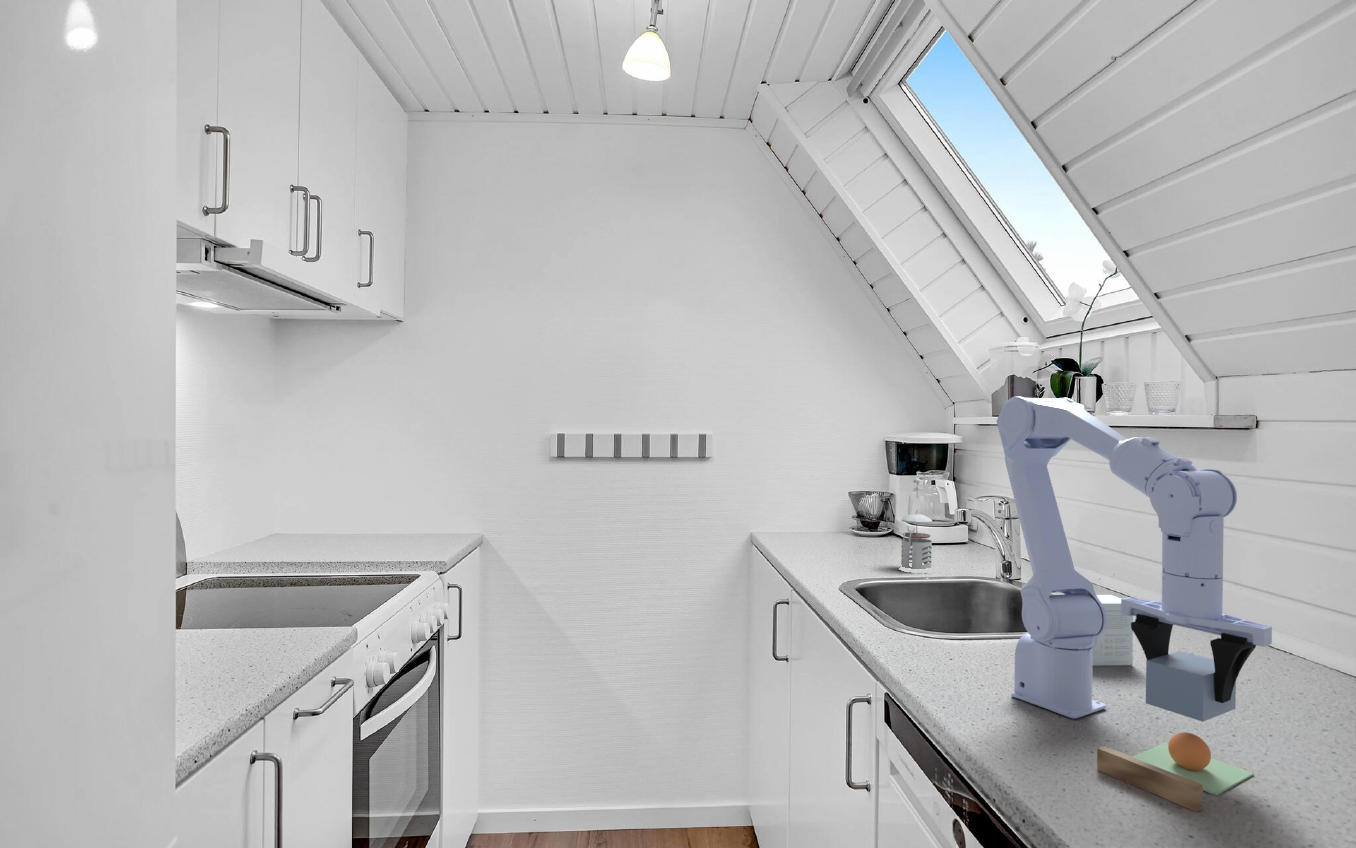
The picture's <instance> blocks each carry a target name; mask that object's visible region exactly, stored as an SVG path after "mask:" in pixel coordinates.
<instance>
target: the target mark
mask: <svg viewBox="0 0 1356 848" xmlns="http://www.w3.org/2000/svg"><path fill="white" fill-rule="evenodd" d="M1168 744H1169V741H1168V742H1167V741H1165V742H1162V743H1160V744H1158V745H1156V746H1154V747H1151V748H1149V749H1147V750H1145V751H1142V752H1139V753H1137V754H1135V755H1133V756H1132V757H1133V758H1136V759H1138V760H1141V761H1143V762H1146V763H1148V764H1151V765H1154V766H1156V767H1159V768H1161V769H1164V770H1166V771H1169V772H1171V773H1174V774H1177V775H1179V776H1182V777H1184V778H1187V779H1189V780H1192V781H1194V782H1197V783H1200V784H1202V785H1203V791H1204V792H1206V793H1209V794H1211V795H1214V796H1219V795H1220V794H1222V793H1223V792H1226V791H1228V790H1229V789H1231V788H1233V787H1234V786H1236V785H1238V784H1240V783H1242V782H1244V781H1245V780H1247V779H1249V778H1251V777H1253V776H1254V775H1255V773H1253V772H1251V771H1249V770H1246V769H1243V768H1240V767H1237V766H1234V765H1231V764H1228V763H1226V762H1223V761H1220V760H1219V759H1215V758H1212V757H1211V760H1210V763H1209V764H1208V765H1207V766H1206V767H1205V768H1204V769H1201V770H1188V769H1185V768H1183V767H1181V766H1180V765H1178V764H1177V763H1176V762H1175V761H1174V760H1173V759H1172V757H1171V755H1170V753H1169V750H1168ZM1203 791H1202V792H1203Z"/></svg>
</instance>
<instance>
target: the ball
mask: <svg viewBox="0 0 1356 848" xmlns="http://www.w3.org/2000/svg"><path fill="white" fill-rule="evenodd" d="M1168 743H1169V744H1168V750H1169V753H1170V755H1171V757H1172V759H1173V760H1174V761H1175V762H1176V763H1177V764H1178V765H1180V766H1181V767H1183V768H1185V769H1188V770H1201V769H1204V768H1205V767H1206V766H1207V765H1208V764H1209V763H1210V760H1211V758H1212V754H1211V749H1210V747H1209V746H1208V744H1207V742H1206V741H1204V739H1203V738H1201V737H1200V736H1198V735H1196V734H1194V733H1190V732H1185V731H1183V732H1179V733H1175V734H1174V735H1173V736H1172V737H1171V738H1170V739H1169V741H1168Z"/></svg>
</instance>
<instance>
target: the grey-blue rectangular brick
mask: <svg viewBox="0 0 1356 848" xmlns="http://www.w3.org/2000/svg"><path fill="white" fill-rule="evenodd" d="M1145 661H1146V667H1145V668H1146V669H1145V670H1146V672H1145V673H1146V675H1145V704H1146V705H1150V706H1153V707H1156V708H1159V709H1163V710H1166V711H1168V712H1172V713H1174V714H1178V715H1180V716H1184V717H1187V718H1190V719H1193V720H1196V721H1200V722H1203V723H1204V722H1205V721H1208V720H1211V719H1214V718H1216V717H1218V716H1221V715H1224V714H1226V713H1228V712H1231V711H1233V710H1236V701H1237V700H1236V698H1237V696H1236V689H1237V681H1236V682H1235V685H1234V688H1233V691H1232V695H1231V700H1229V701H1227V702H1225V703H1220V702H1217V701H1215V694H1214V687H1215V666H1214V658H1213V659H1212V658H1208V657H1203V656H1200V655H1196V654H1193V653H1189V652H1184V651H1181V650H1178V651H1175V652H1171V653H1168V654H1167V655H1164V656H1160V657H1157V658H1153V659H1150V660H1147V659H1146V660H1145Z"/></svg>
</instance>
